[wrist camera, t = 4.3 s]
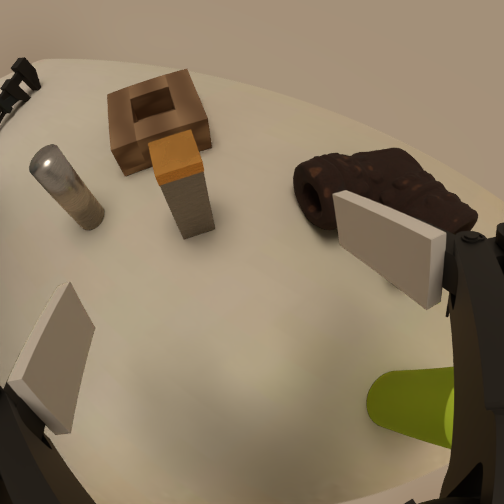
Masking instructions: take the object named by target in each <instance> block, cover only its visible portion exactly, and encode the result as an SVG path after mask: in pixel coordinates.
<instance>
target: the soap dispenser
mask: <svg viewBox="0 0 504 504" xmlns="http://www.w3.org/2000/svg"><path fill="white" fill-rule="evenodd" d="M367 411H368V414H369V416H370V418H371V419H372V421H373V422H374V423H376V424H377V425H379V426H381V427H384V428H387V429H390V430H392V431H395V432H398V433H401V434H404V435H407V436H410V437H413V438H416V439H419V440H422V441H425V442H428V443H432V444H435V445H438V446H442V447H445V448H449V449H451V446H452V433H453V415H454V367H445V368H434V369H420V370H403V371H391V372H388V373H385V374H383V375H382V376H380V377H379V378H378V379H377V380H376V381H375V382H374V384H373V385H372V387H371V388H370V391H369V393H368V397H367Z"/></svg>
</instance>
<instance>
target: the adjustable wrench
mask: <svg viewBox="0 0 504 504" xmlns="http://www.w3.org/2000/svg"><path fill="white" fill-rule="evenodd" d="M11 69H12V70H13V71H14V72H15V74H14V75H13V77H12V78H11V79H7V80H6V81H5V82H4V84H3V85H2V87H1V88H0V89H1V90H2V93H1V94H0V114H1V115H0V123H1V121H2V119H3V117H4V116H5V114H7V113H10V112H11V111H12V109H13V108H12V106H13V105H14V104H15V103H16V102H18V101H19V100H23V101H28V100H29V99H30V98H31V97H30V96H29V95H28V94H27V93H26V92H24V91H23V90H22V89H21V88H20V87H19V84H20V83H21V81H22V80H23V81H24V82H25V83H26V84H27V85H28V86H29V87H30V88H31V89H32V90H39V89H40V88H41V85H40V82H39V79H38V75H37V72H36V69H35V68H34V67H33V66H32V65H31V64H30V63H29V62H28V60H26V58H25V57H24V58H18V59H17V61H16V62H15V63H14V64H13V66H12V67H11ZM1 112H2V113H1Z"/></svg>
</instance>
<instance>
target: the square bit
mask: <svg viewBox="0 0 504 504" xmlns="http://www.w3.org/2000/svg"><path fill="white" fill-rule="evenodd" d="M148 146H149V151H150V156H151V160H152V165H153V169H154V174H155V177H156V180H157V182H158V184H159V186H160V187H161V190H162V192H163V194H164V196H165V199H166V201H167V203H168V206H169V208H170V210H171V212H172V215H173V217H174V219H175V221H176V224H177V226H178V228H179V230H180V232H181V235H182V237H183V239H187V238H190V237H193V236H196V235H199V234H202V233H205V232H208V231H211V230H214V229H215V225H214V220H213V216H212V211H211V206H210V201H209V196H208V191H207V186H206V181H205V176H204V167H203V162H202V159H201V156H200V153H199V151H198V148H197V145H196V142H195V139H194V136H193V134H192V131H191V129H190V130H187V131H184V132H180V133H177V134H174V135H171V136H168V137H164V138H161V139H158V140H155V141H152V142H149V143H148Z"/></svg>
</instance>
